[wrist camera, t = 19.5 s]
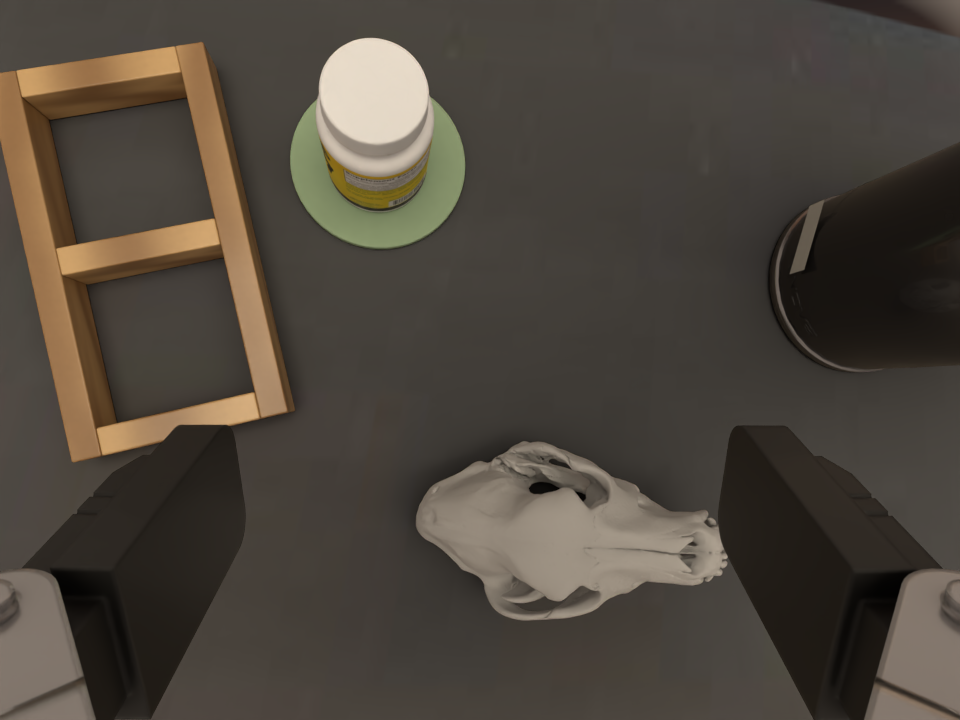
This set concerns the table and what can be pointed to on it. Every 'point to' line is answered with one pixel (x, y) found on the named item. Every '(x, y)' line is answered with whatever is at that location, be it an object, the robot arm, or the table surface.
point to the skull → (562, 533)
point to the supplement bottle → (375, 124)
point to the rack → (132, 239)
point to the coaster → (379, 226)
